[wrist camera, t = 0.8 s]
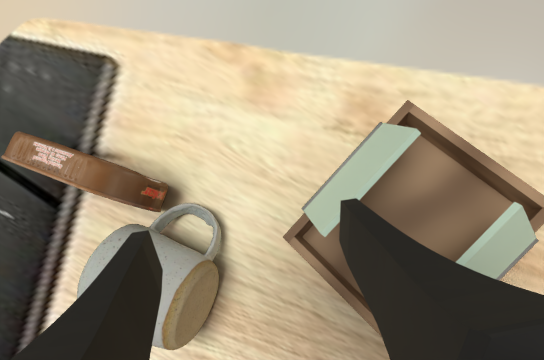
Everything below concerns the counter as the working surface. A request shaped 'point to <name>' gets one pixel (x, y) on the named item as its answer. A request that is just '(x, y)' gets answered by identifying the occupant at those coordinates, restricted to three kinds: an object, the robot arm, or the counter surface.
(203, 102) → the counter surface
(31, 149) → the tin
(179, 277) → the ceramic mug
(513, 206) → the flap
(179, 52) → the counter surface
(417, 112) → the crate
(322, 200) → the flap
